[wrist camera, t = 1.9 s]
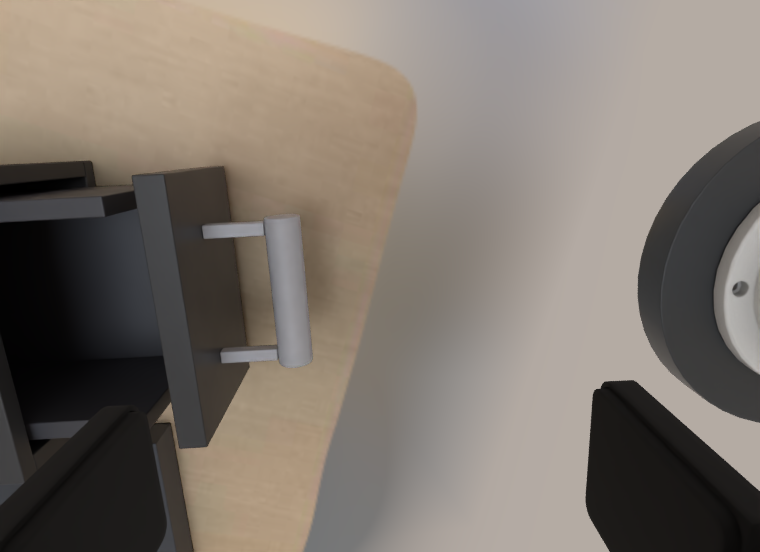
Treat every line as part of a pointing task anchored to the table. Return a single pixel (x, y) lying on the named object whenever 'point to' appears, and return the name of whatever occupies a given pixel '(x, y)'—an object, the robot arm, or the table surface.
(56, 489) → the robot arm
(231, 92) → the table surface
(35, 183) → the drawer cabinet casing
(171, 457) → the control pad
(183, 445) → the drawer with pull handle
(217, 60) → the table surface
